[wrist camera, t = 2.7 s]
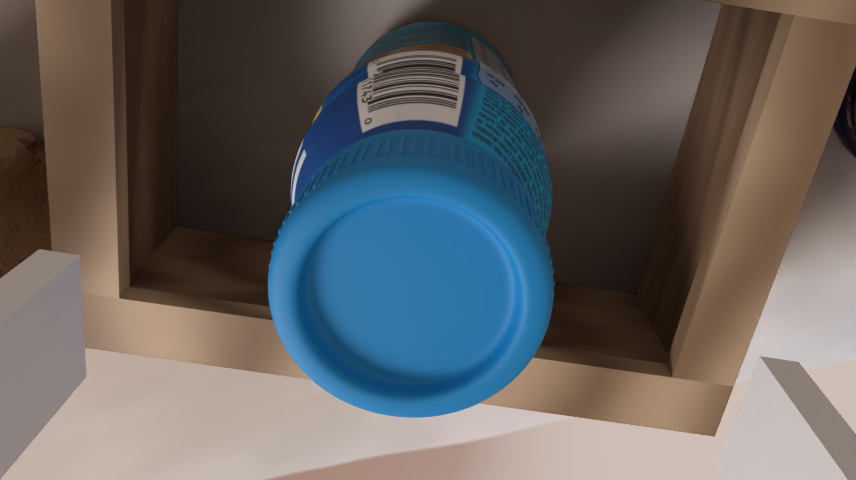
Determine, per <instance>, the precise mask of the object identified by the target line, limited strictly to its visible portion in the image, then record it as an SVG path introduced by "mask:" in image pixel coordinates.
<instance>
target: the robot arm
mask: <svg viewBox="0 0 856 480" xmlns="http://www.w3.org/2000/svg"><path fill="white" fill-rule="evenodd" d="M85 377H86V364H85V344H84V325H83V306H82V287H81V268H80V255H75V254H68V253H61V252H55V251H48V250H41V249H39V250H38V251H36V252H35V253H34V254H32V255H31V256H30V257H28V258H27V259H26V260H24V261H23V262H22V263H20V264H19V265H18V266H16V267H15V268H14V269H12V270H11V271H10V272H8V273H7V274H6V275H4V276H3V277H2V278H0V479H1V478H2V476H3V475H4V474H5V473H6V472H7V470H8V469H9V468H10V467H11V466H12V464H13V463H14V462H15V461H16V460H17V459H18V457H19V456H20V455H21V454H22V453H23V451H24V450H25V449H26V448H27V447H28V445H29V444H30V443H31V442H32V441H33V439H34V438H35V437H36V436H37V435H38V433H39V432H40V431H41V430H42V429H43V428H44V426H45V425H46V424H47V423H48V422H49V420H50V419H51V418H52V417H53V416H54V414H55V413H56V412H57V411H58V410H59V408H60V407H61V406H62V405H63V404H64V402H65V401H66V400H67V399H68V398H69V397H70V395H71V394H72V393H73V392H74V391H75V389H76V388H77V387H78V386H79V385H80V383H81V382H82V381H83V380H84V379H85ZM716 468H717V471H718V473H719V475H720V477H721V479H722V480H856V434H855V433H854V431H853V430H852V429H851V428H850V427H849V425H848V424H847V423H846V421H845V420H844V419H843V418H842V416H841V415H840V414H839V413H838V411H837V410H836V409H835V408H834V406H833V405H832V404H831V402H830V401H829V400H828V399H827V397H826V396H825V395H824V394H823V393H822V391H821V390H820V389H819V387H818V386H817V385H816V384H815V382H814V381H813V380H812V379H811V377H810V376H809V375H808V373H807V372H806V371H805V370H804V368H803V367H802V366H801V365H800V363H799V362H794V361H788V360H781V359H774V358H767V357H761V356H760V357H759V360H758V362H757V365H756V367H755V370H754V372H753V375H752V377H751V380H750V383H749V385H748V388H747V390H746V393H745V395H744V398H743V400H742V403H741V406H740V408H739V411H738V413H737V416H736V418H735V421H734V423H733V426H732V429H731V431H730V434H729V437H728V439H727V441H726V444H725V446H724V449H723V452H722V454H721V457H720V460H719V462H718V464H717V467H716Z"/></svg>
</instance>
